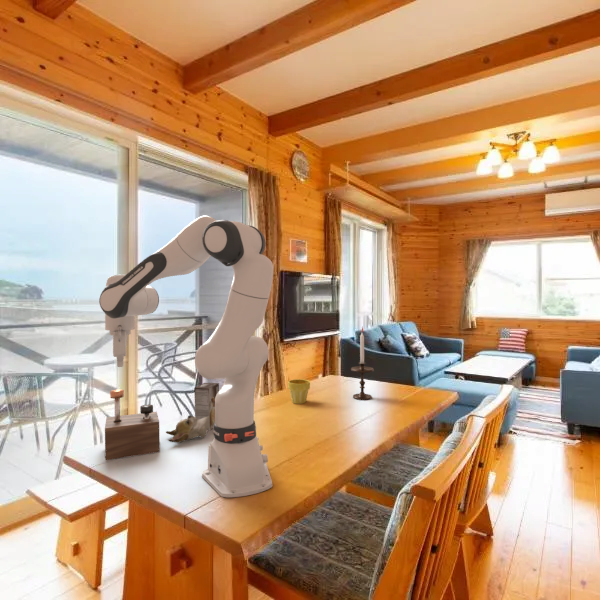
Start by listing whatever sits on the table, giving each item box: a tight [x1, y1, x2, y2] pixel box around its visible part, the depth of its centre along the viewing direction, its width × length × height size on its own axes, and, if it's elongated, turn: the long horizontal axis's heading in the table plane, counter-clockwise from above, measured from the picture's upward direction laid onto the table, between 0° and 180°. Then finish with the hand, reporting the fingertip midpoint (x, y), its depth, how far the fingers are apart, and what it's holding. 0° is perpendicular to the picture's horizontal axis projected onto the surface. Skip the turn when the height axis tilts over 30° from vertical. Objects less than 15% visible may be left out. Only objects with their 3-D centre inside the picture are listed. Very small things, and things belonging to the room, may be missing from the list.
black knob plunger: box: [139, 404, 154, 419], centre depth 136 cm, size 4×4×13 cm
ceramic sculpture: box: [165, 415, 209, 444], centre depth 144 cm, size 11×9×15 cm
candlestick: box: [350, 326, 375, 401], centre depth 197 cm, size 11×11×35 cm
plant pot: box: [287, 378, 311, 405], centre depth 191 cm, size 10×10×10 cm
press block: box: [104, 411, 161, 461], centre depth 134 cm, size 12×16×10 cm
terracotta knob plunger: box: [109, 388, 125, 423], centre depth 132 cm, size 4×4×13 cm
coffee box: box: [193, 382, 220, 431], centre depth 157 cm, size 9×6×16 cm
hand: (120, 366), depth 133 cm, fingers closed
